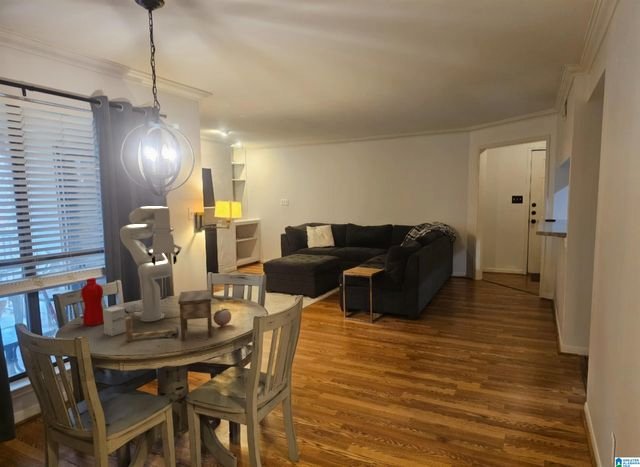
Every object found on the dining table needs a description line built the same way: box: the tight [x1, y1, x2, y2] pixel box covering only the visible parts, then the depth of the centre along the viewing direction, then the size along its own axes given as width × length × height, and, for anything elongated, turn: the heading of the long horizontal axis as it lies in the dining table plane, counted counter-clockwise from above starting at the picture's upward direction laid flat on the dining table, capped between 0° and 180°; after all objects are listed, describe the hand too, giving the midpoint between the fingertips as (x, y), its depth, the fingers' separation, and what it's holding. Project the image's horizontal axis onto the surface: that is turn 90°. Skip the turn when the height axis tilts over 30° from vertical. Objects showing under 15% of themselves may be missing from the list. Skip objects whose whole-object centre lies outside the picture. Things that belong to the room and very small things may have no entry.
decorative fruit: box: [212, 307, 232, 327], centre depth 206 cm, size 9×8×10 cm
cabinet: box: [177, 289, 213, 342], centre depth 197 cm, size 15×19×19 cm
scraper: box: [125, 316, 179, 342], centre depth 192 cm, size 23×9×11 cm, turn 106°
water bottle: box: [80, 277, 104, 327], centre depth 213 cm, size 9×11×25 cm
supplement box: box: [103, 305, 126, 337], centre depth 199 cm, size 7×7×13 cm
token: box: [164, 334, 174, 338], centre depth 194 cm, size 4×4×1 cm
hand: (164, 264), depth 204 cm, fingers open, 9 cm apart
